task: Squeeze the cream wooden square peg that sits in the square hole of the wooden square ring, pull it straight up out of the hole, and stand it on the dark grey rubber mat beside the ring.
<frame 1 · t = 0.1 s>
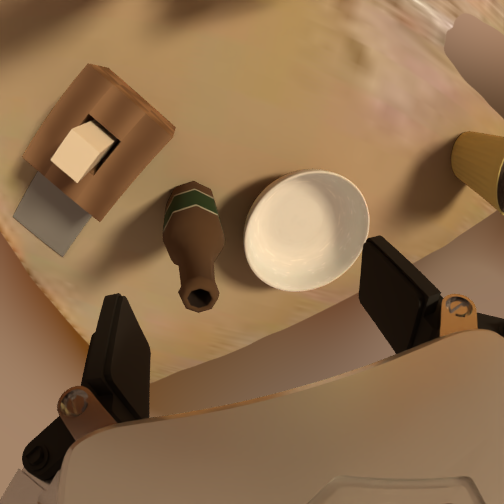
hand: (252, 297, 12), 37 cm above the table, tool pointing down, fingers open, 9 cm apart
beer bottle: (191, 202, 48), on the table
serving bowl: (297, 218, 53), on the table
potted cactus: (466, 155, 54), on the table
rubber mat: (53, 210, 43), on the table
square peg: (102, 137, 36), point 4 cm above the table, touching wooden square ring
wooden square ring: (109, 132, 40), on the table
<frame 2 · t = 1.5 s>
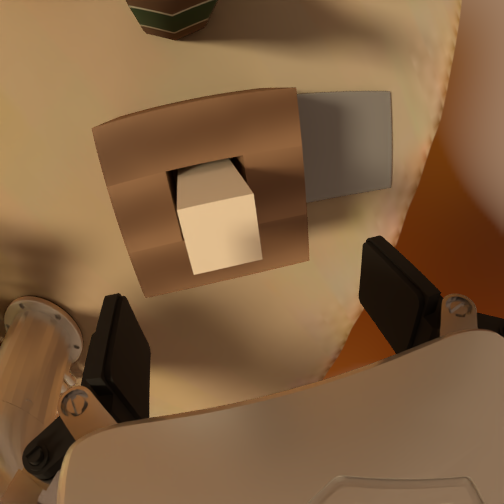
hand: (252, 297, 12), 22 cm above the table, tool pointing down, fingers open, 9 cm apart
beer bottle: (175, 7, 22), on the table
rubber mat: (346, 143, 32), on the table
square peg: (204, 177, 27), point 4 cm above the table, touching wooden square ring
wooden square ring: (201, 166, 30), on the table
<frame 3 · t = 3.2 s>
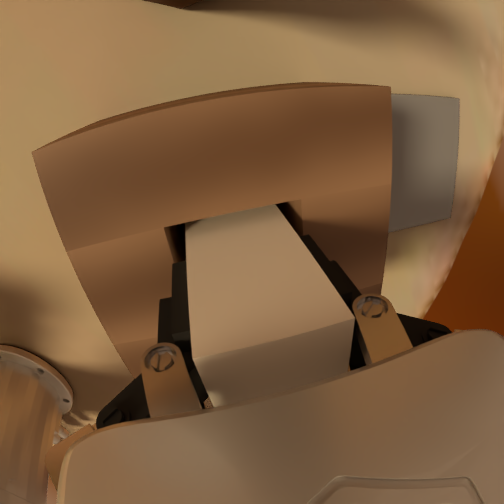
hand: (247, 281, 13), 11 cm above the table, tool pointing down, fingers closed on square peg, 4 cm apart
rubber mat: (408, 163, 23), on the table
square peg: (225, 215, 18), point 4 cm above the table, touching gripper, wooden square ring
wooden square ring: (218, 193, 22), on the table
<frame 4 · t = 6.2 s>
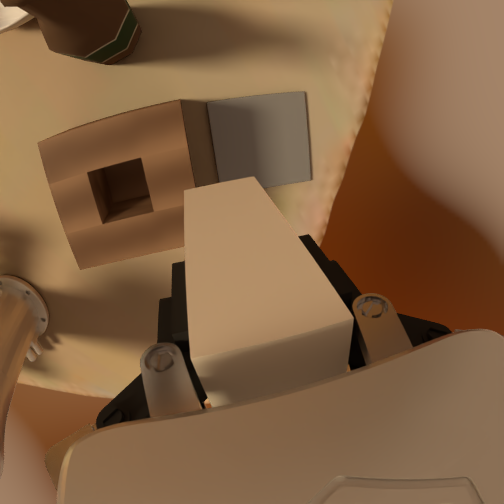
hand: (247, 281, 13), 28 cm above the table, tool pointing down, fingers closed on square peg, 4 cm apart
beer bottle: (111, 37, 27), on the table
rubber mat: (261, 141, 37), on the table
square peg: (224, 214, 18), point 21 cm above the table, touching gripper
wooden square ring: (134, 167, 35), on the table
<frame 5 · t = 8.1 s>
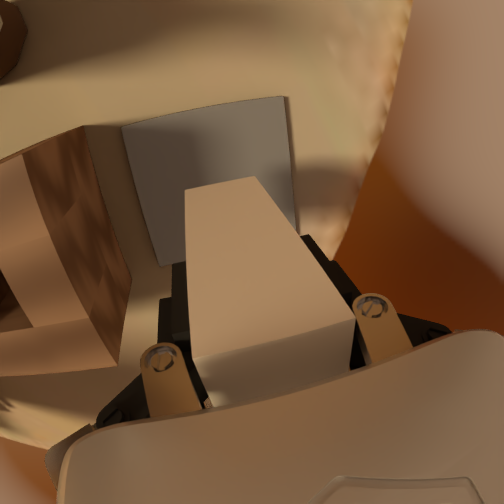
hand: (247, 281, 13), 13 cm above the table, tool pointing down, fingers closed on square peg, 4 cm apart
rubber mat: (215, 182, 24), on the table
square peg: (225, 214, 18), point 7 cm above the table, touching gripper
wooden square ring: (37, 229, 22), on the table
when the fingers open (9 cm above the table, at t = 9.4 s): square peg drops 1 cm, resting on rubber mat.
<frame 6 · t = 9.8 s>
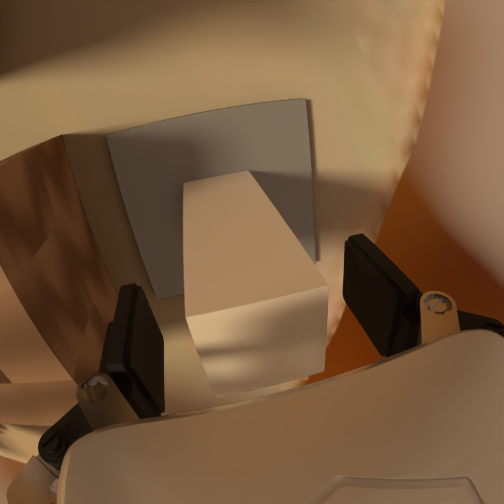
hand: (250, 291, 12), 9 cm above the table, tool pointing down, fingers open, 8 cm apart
rubber mat: (221, 203, 20), on the table
square peg: (221, 206, 20), point 1 cm above the table, touching rubber mat
wooden square ring: (16, 255, 18), on the table
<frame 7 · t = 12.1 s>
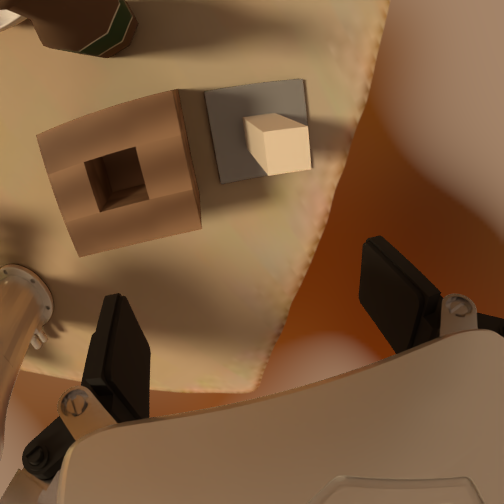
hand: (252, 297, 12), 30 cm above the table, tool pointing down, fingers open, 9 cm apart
beer bottle: (108, 30, 27), on the table
rubber mat: (260, 129, 37), on the table
square peg: (260, 130, 36), resting on rubber mat
wooden square ring: (134, 156, 36), on the table
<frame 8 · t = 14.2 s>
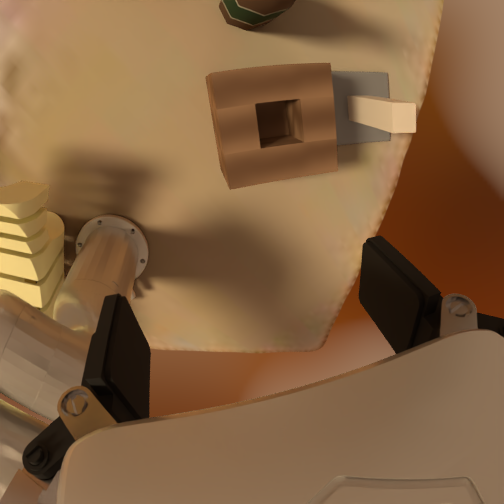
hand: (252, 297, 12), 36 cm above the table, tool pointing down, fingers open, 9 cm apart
beer bottle: (245, 8, 34), on the table
slatted curved stool: (30, 242, 44), on the table
rubber mat: (357, 107, 44), on the table
square peg: (358, 107, 44), resting on rubber mat
wooden square ring: (261, 115, 42), on the table
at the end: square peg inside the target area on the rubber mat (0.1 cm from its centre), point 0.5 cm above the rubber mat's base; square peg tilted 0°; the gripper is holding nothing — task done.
